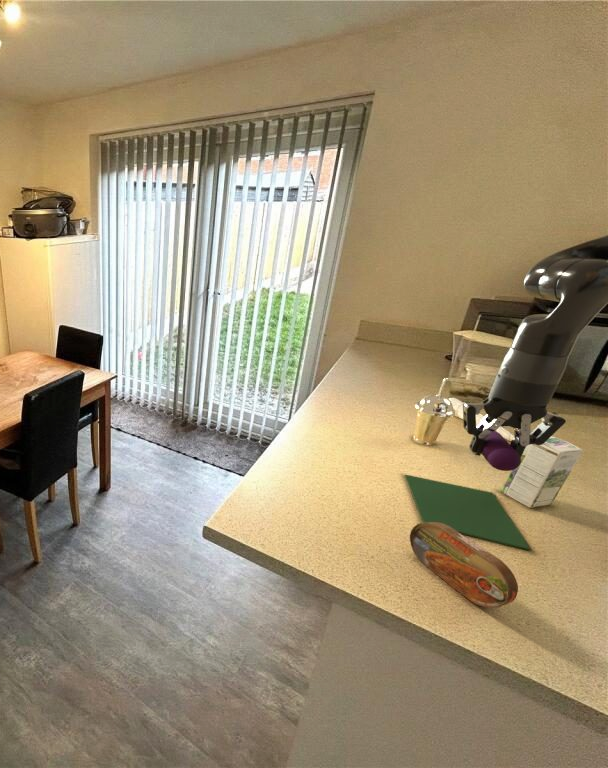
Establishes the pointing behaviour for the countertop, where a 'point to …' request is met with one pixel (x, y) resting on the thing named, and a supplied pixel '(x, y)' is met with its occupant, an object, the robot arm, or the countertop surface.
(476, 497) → the cloth
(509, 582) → the tin
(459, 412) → the unicorn horn
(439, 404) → the cup with straw
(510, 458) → the eggplant
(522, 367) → the robot arm
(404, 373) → the countertop surface
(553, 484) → the syrup box
